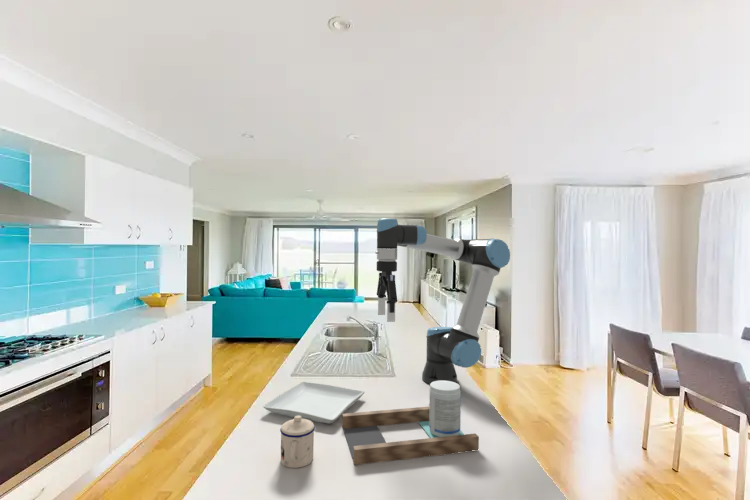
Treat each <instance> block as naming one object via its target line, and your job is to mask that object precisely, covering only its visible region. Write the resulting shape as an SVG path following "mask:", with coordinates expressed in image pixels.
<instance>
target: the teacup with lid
mask: <svg viewBox="0 0 750 500" xmlns="http://www.w3.org/2000/svg"><path fill="white" fill-rule="evenodd" d="M279 431H280V432H279V433H280V463H281V464H282V465H283V466H285V467H286V468H291V469H299V468H303V467H306V466H308V465H309V464H311V463H312V461H313V460H314V444H315V443H314V439H315V438H314V435H315V433H314V432H315V424H314V422H313V421H311V420H307V419H302V417H301V416H299V415H298V416H295V417H293V419H289V420H287V421H285V422H284V423H283V424H282V425H281V427H280V429H279Z"/></svg>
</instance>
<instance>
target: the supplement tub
mask: <svg viewBox="0 0 750 500" xmlns="http://www.w3.org/2000/svg"><path fill="white" fill-rule="evenodd" d="M461 393H462V392H461V386H460V384H459V383H458V382H457V383H455V382H452V381H445V380H440V381H434V382H432V383H431V384H429V406H430V407H429V406H428V407H429V426H430V427H429V428H430V431H431V433H432V434H434V435H435V436H438V437H446V436H456V435H459V434H460V430H461V417H462V416H461V415H462V414H461V411H462V410H461V407H462V405H461V401H462V400H461V396H462V395H461Z"/></svg>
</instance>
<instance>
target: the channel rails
mask: <svg viewBox="0 0 750 500" xmlns="http://www.w3.org/2000/svg"><path fill="white" fill-rule="evenodd" d="M429 407H430V405H428V406H420V407H418V406H417V407H407V408H397V409H396V408H395V409H394V408H393V409H383V410H372V411H371V410H370V411H359V412H348V413H345V412H344V413H343V414H342V415H341V416H342V420H341V426H342V429H347V428H358V427H369V426H378V427H379V426H389V425H391V426H392V425H400V424H411V423H419V422H423V421H429ZM464 434H465V433H464ZM479 438H480V437H479V435H478V434H476V433H467V434H465V435H456V436H446V437H436V438H430V437H427V438H419V439H410V440H398V441H389V442H386V443H379V444H369V445H359V446H353V459H352V462H353V464H354V466H359V465H365V464H366V465H367V464H376V463H383V462H391V461H401V460H410V459H418V458H427V457H435V456H436V457H437V456H445V455H444V454H446V455H452V453H454V454H459V453H458V452H463V453H466V452H465V451H472V450H478V449H479V446H480V445H479V444H480V442H479V441H480V439H479ZM479 450H480V449H479ZM472 452H473V451H472Z"/></svg>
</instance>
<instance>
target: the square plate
mask: <svg viewBox="0 0 750 500" xmlns="http://www.w3.org/2000/svg"><path fill="white" fill-rule="evenodd" d="M364 394H365V391H363V390H358V389H352V388H346V387H342V386H337V385H331V384H324V383H316V382H309V381H308V382H307V381H302V382H299V383H298V384H297V385H295V386H292V387H290V389H287V390H286V391H284V392H283V393H281V394H279V395H277V396H276V397H275V398H273V399H272V400H270V401H268V402H267V403H265V404H264V405H263V406H262V408H264V409H265V410H266V411H268V412H270V413H274V414H277V415H283V416H284V417H285V416H286V417H291V418H294V417H295V416H298V415H299V416H301V417H302V419H307V420H310V421H311V422H315V423H316V422H317V423H325V424H333V423H335V421H337V420H338V419H339V418H340V417H341V416H342V414H345V412H346V411H347V410H348V409H349V408H350V407H352V406H353V405H354V404H356V403H357V402H358V401H359V400H360V399H361V397H362V396H363V395H364Z"/></svg>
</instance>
